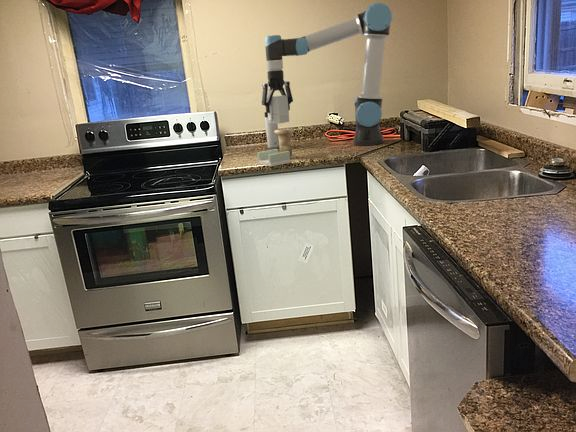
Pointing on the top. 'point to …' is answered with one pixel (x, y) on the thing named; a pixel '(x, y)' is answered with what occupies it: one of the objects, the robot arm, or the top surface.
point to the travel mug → (271, 134)
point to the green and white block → (273, 157)
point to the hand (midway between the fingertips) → (278, 118)
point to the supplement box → (279, 109)
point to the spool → (285, 141)
